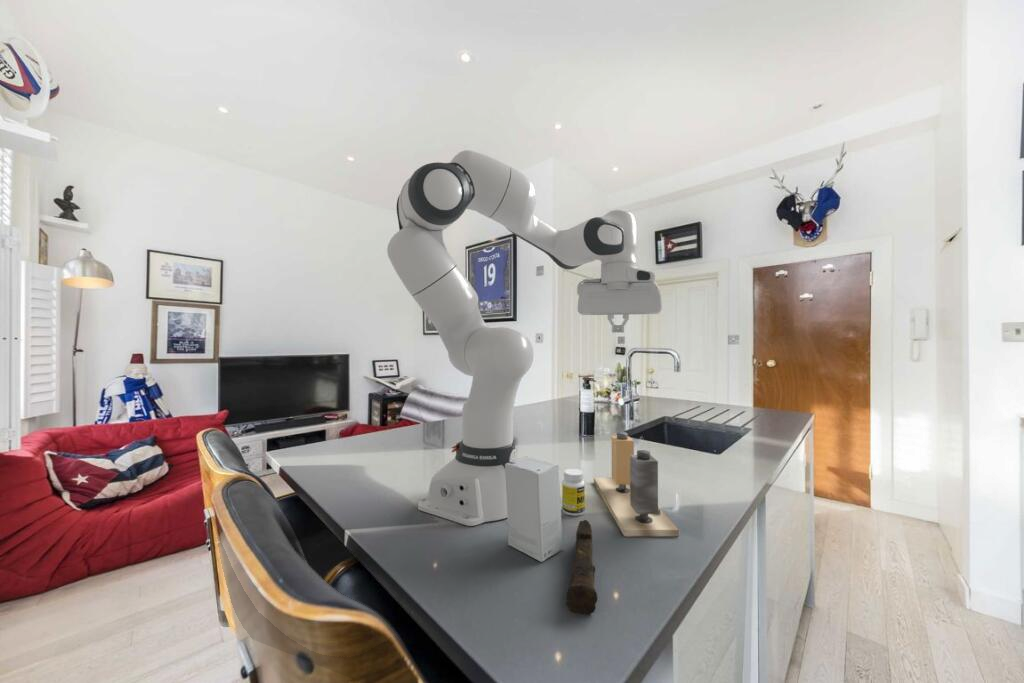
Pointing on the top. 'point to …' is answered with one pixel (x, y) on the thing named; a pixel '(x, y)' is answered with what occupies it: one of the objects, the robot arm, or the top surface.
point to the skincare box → (533, 507)
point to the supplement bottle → (573, 492)
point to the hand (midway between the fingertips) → (618, 332)
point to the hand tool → (582, 573)
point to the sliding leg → (621, 459)
